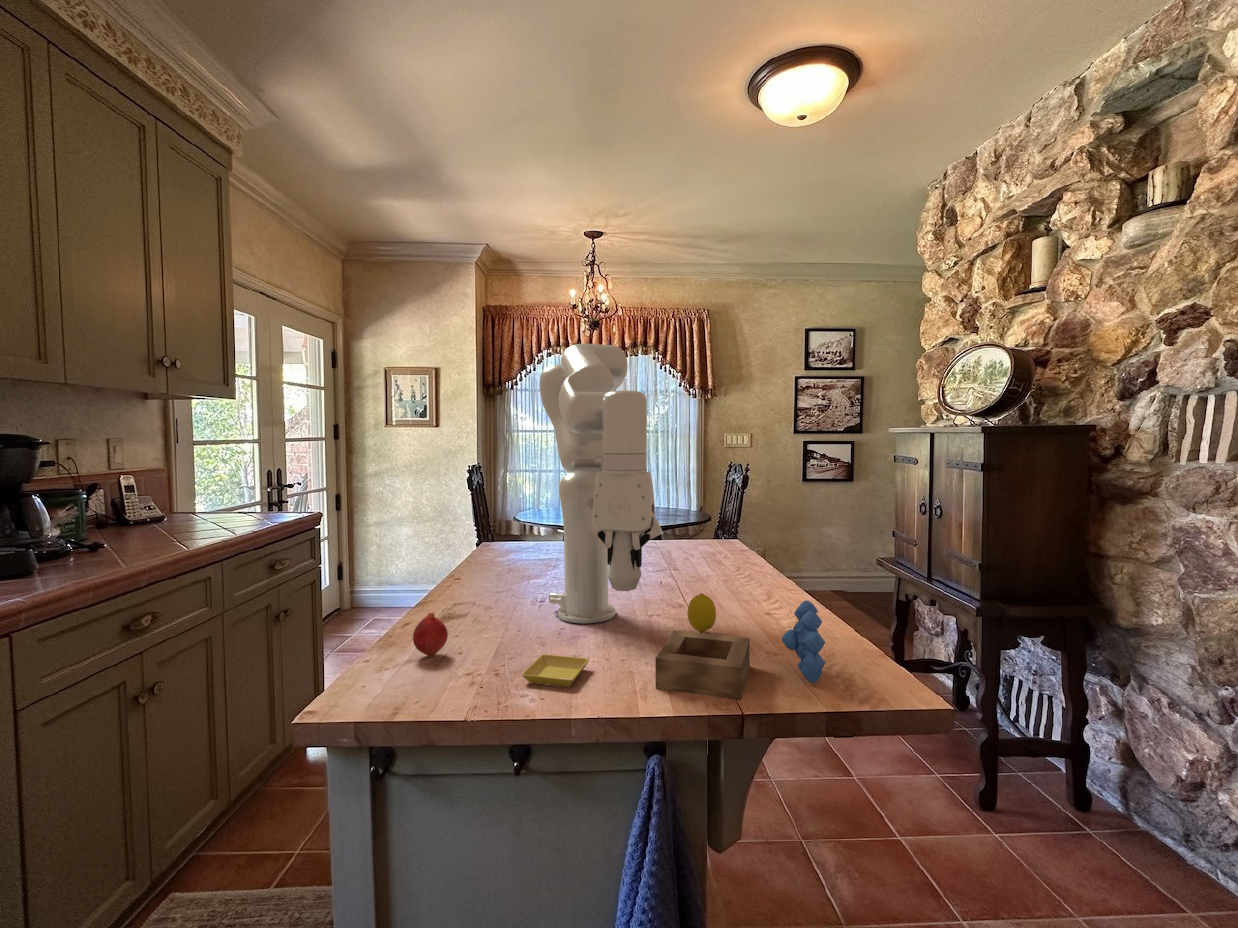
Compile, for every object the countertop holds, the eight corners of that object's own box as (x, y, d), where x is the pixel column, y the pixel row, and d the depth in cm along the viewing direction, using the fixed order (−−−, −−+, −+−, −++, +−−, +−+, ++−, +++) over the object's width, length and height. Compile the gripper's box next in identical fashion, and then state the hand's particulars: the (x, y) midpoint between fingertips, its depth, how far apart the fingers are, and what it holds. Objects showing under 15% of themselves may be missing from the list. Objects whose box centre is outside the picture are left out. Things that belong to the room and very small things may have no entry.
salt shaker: (637, 593, 94) (637, 516, 93) (604, 591, 95) (604, 515, 94) (643, 584, 100) (643, 511, 99) (611, 582, 101) (611, 510, 100)
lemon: (718, 630, 113) (718, 590, 113) (713, 639, 108) (713, 598, 108) (690, 627, 115) (690, 588, 115) (684, 636, 110) (684, 595, 110)
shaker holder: (655, 688, 87) (655, 657, 87) (674, 657, 100) (674, 630, 99) (741, 700, 83) (741, 668, 83) (749, 665, 96) (749, 638, 95)
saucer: (572, 693, 87) (572, 679, 87) (520, 686, 89) (520, 673, 89) (590, 670, 95) (590, 658, 95) (542, 665, 97) (542, 653, 97)
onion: (416, 665, 97) (414, 619, 97) (411, 653, 102) (410, 610, 102) (450, 658, 100) (449, 614, 99) (444, 648, 105) (443, 605, 104)
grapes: (775, 661, 98) (775, 592, 97) (815, 662, 97) (816, 593, 96) (786, 690, 86) (787, 613, 86) (833, 693, 85) (833, 614, 85)
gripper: (571, 464, 95) (572, 571, 96) (666, 466, 90) (665, 579, 91) (587, 461, 102) (588, 561, 104) (676, 463, 97) (675, 568, 98)
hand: (624, 569), depth 97 cm, fingers closed on salt shaker, 3 cm apart
